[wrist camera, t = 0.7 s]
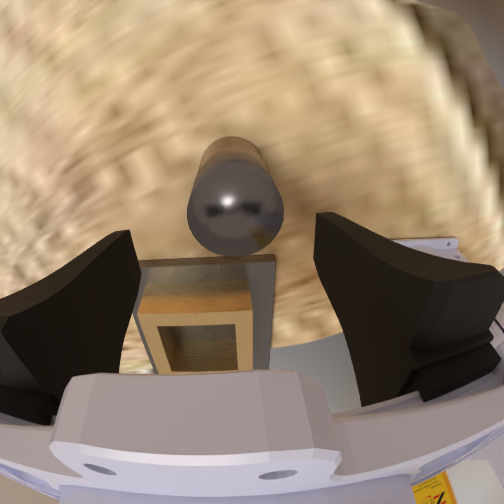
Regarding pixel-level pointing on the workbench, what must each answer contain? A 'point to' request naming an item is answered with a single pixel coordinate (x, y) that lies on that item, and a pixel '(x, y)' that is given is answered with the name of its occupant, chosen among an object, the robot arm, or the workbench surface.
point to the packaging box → (435, 490)
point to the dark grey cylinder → (234, 200)
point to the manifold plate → (206, 313)
